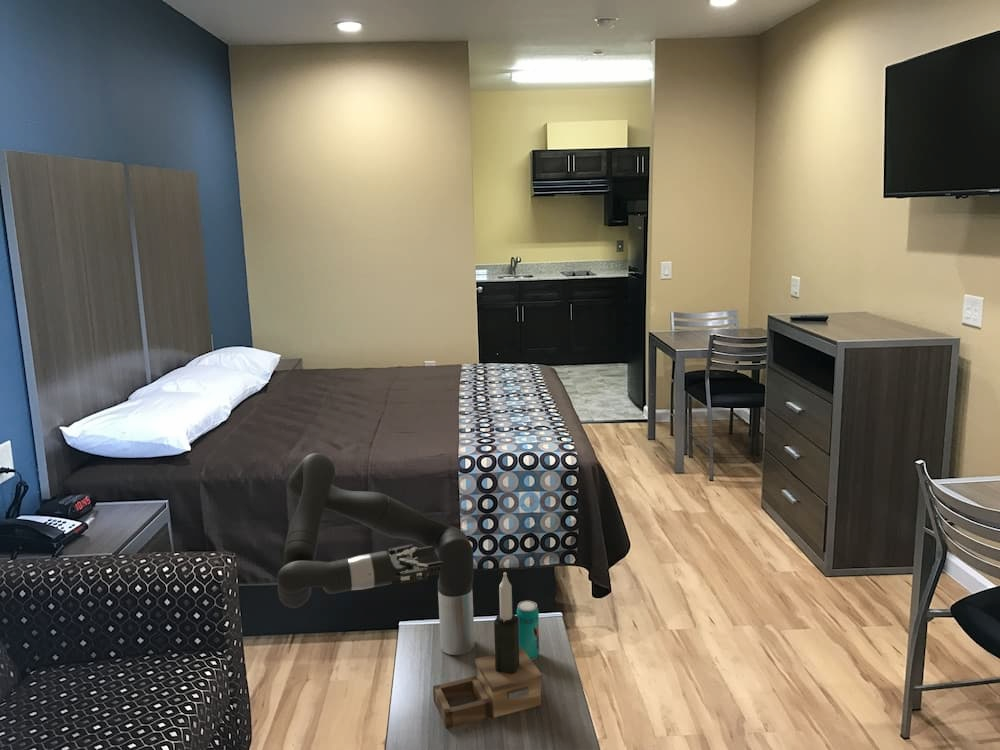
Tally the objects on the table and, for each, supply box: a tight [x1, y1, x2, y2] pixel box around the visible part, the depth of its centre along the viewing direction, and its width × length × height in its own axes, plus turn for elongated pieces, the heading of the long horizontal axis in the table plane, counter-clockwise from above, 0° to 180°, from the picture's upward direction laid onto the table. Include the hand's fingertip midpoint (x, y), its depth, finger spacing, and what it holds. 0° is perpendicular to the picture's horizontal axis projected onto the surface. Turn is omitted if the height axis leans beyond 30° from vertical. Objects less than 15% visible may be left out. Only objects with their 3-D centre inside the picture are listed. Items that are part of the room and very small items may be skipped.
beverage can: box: [516, 600, 540, 662], centre depth 205 cm, size 6×6×15 cm
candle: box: [493, 571, 519, 674], centre depth 186 cm, size 5×5×25 cm
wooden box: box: [432, 648, 543, 729], centre depth 187 cm, size 14×24×8 cm, turn 110°
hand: (438, 557), depth 180 cm, fingers open, 8 cm apart
